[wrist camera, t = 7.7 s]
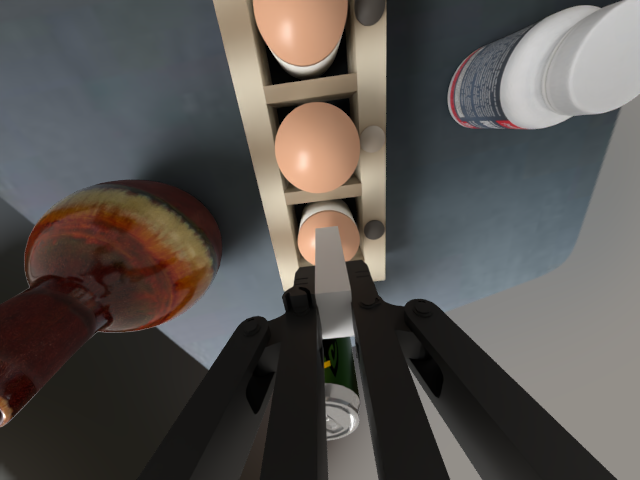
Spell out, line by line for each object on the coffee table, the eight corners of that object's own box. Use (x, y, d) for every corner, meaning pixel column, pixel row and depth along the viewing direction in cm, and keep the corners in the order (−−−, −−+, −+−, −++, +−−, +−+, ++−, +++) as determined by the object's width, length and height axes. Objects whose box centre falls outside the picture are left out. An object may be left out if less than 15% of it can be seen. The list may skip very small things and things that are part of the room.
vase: (256, 224, 22) (155, 393, 8) (199, 293, 26) (61, 490, 12) (143, 140, 19) (-360, 186, 5) (95, 233, 22) (-270, 412, 8)
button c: (297, 198, 20) (292, 216, 16) (349, 191, 20) (358, 208, 16) (305, 244, 22) (302, 271, 18) (353, 239, 22) (361, 264, 18)
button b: (279, 113, 16) (266, 108, 11) (347, 103, 15) (358, 95, 11) (291, 181, 18) (283, 197, 14) (351, 173, 17) (362, 188, 13)
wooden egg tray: (219, -53, 14) (182, -119, 10) (368, -79, 13) (388, -158, 10) (288, 266, 24) (283, 292, 20) (374, 256, 24) (385, 281, 20)
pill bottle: (445, 136, 19) (540, 143, 11) (445, 58, 16) (565, -6, 8) (513, 118, 18) (667, 112, 10) (523, 35, 16) (730, -56, 8)
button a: (262, -4, 14) (241, -55, 10) (336, -16, 14) (343, -73, 10) (277, 84, 16) (265, 70, 12) (342, 74, 16) (350, 58, 12)
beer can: (353, 301, 26) (378, 422, 16) (319, 325, 28) (320, 449, 17) (322, 273, 25) (326, 388, 14) (287, 300, 26) (266, 422, 15)
